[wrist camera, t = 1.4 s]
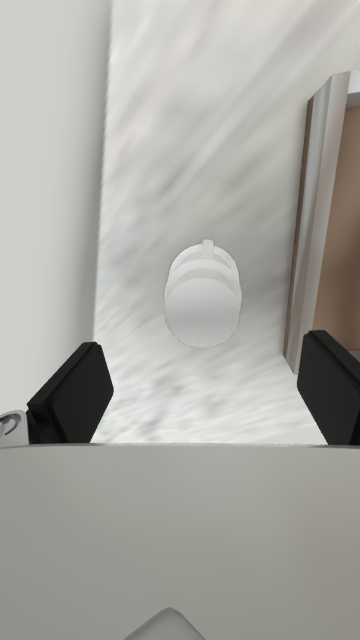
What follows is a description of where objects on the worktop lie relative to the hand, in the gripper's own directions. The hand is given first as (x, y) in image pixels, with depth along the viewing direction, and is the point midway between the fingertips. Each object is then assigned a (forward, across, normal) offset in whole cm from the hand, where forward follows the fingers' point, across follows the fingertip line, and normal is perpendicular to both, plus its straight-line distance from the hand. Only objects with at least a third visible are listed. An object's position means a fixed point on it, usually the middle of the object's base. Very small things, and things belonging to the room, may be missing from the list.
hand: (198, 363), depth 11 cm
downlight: (+14, 0, 0) cm, 14 cm away
